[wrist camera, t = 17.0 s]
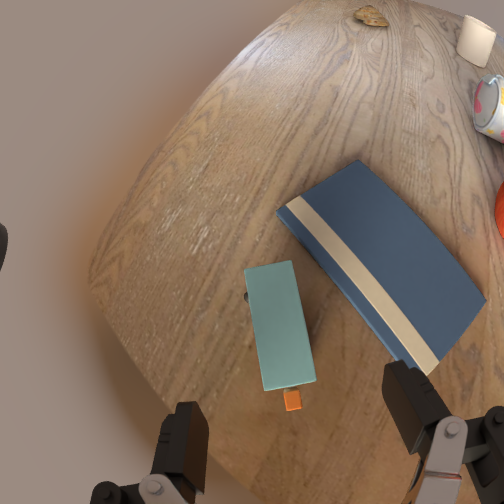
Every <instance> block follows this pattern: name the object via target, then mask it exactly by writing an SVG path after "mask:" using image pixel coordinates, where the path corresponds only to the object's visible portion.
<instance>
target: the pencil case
mask: <svg viewBox="0 0 504 504" xmlns="http://www.w3.org/2000/svg"><path fill="white" fill-rule="evenodd" d="M472 113H473V124H474V128H475V129H476V130H477V131H479V132H481V133H482V134H484V135H487V136H489V137H491V138H493V139H495V140H497V141H499V142H501V143H502V144H504V78H503V77H502V76H501V75H499V74H486V75H485V76H483V77H482V78H481V79H480V80H479V82H478V83H477V86H476V88H475V92H474V97H473V106H472Z"/></svg>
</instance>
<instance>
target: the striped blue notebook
mask: <svg viewBox="0 0 504 504" xmlns="http://www.w3.org/2000/svg"><path fill="white" fill-rule="evenodd" d="M276 215H277V216H278V217H279V218H280V219H281V221H282V222H283V223H284V224H285V225H286V226H287V227H288V229H289V230H290V231H291V232H292V233H293V234H294V236H295V237H296V238H297V239H298V240H299V241H300V243H301V244H302V245H303V246H304V247H305V248H306V250H307V251H308V252H309V253H310V254H311V255H312V257H313V258H314V259H315V260H316V261H317V263H318V264H319V265H320V266H321V267H322V268H323V270H324V271H325V272H326V273H327V274H328V276H329V277H330V278H331V279H332V281H333V282H334V283H335V284H336V285H337V287H338V288H339V289H340V290H341V292H342V293H343V294H344V295H345V296H346V298H347V299H348V300H349V301H350V303H351V304H352V305H353V306H354V308H355V309H356V310H357V311H358V313H359V314H360V315H361V316H362V318H363V319H364V320H365V321H366V323H367V324H368V325H369V327H370V328H371V329H372V330H373V332H374V333H375V334H376V335H377V337H378V338H379V339H380V341H381V342H382V343H383V345H384V346H385V347H386V348H387V350H388V351H389V352H390V354H391V355H392V356H393V358H394V359H395V360H396V361H398V360H400V359H402V360H404V362H405V363H406V365H407V366H408V368H409V369H410V368H412V367H416V368H418V369H419V370H421V371H422V372H424V373H425V375H426V376H427V375H428V374H429V373H430V372H431V371H432V370H433V369H434V368H435V366H436V365H437V364H438V363H439V362H440V361H441V360H442V358H443V357H444V356H445V355H446V354H447V353H448V351H449V350H450V349H451V348H452V347H453V345H454V344H455V343H456V342H457V341H458V339H459V338H460V337H461V336H462V334H463V333H464V332H465V330H466V329H467V328H468V326H469V325H470V324H471V322H472V321H473V320H474V318H475V317H476V316H477V314H478V313H479V311H480V310H481V309H482V307H483V306H484V304H485V303H486V299H485V298H484V296H483V295H482V293H481V292H480V291H479V289H478V288H477V286H476V285H475V284H474V282H473V281H472V280H471V278H470V277H469V276H468V274H467V273H466V272H465V270H464V269H463V268H462V267H461V265H460V264H459V263H458V262H457V260H456V259H455V258H454V257H453V255H452V254H451V253H450V252H449V251H448V249H447V248H446V247H445V246H444V245H443V244H442V242H441V241H440V240H439V239H438V238H437V237H436V235H435V234H434V233H433V232H432V231H431V230H430V229H429V228H428V227H427V225H426V224H425V223H424V222H423V221H422V220H421V219H420V218H419V217H418V216H417V215H416V214H415V213H414V212H413V211H412V209H411V208H410V207H409V206H408V205H407V204H406V203H405V202H404V201H403V200H402V199H401V198H400V197H399V196H398V195H397V194H396V193H395V192H394V191H393V190H391V189H390V188H389V187H388V186H387V185H386V184H385V183H384V182H383V181H382V180H381V179H380V178H379V177H378V176H377V175H375V174H374V173H373V172H372V171H371V170H370V169H369V168H368V167H367V166H365V165H364V164H363V163H362V162H361V161H360V160H359V159H358V160H356V161H355V162H353V163H351V164H350V165H348V166H346V167H345V168H343V169H342V170H340V171H338V172H337V173H335V174H334V175H332V176H330V177H329V178H327V179H325V180H324V181H322V182H321V183H319V184H317V185H316V186H314V187H313V188H311V189H310V190H308V191H306V192H305V193H303V194H302V195H300V196H298V197H296V198H295V199H293V200H292V201H290V202H289V203H287V204H286V205H284V206H283V207H281V208H280V209H278V210H276Z"/></svg>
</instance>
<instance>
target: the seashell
mask: <svg viewBox="0 0 504 504" xmlns="http://www.w3.org/2000/svg"><path fill="white" fill-rule="evenodd" d="M353 16H354V17H355V18H357V19H361V20H364V21H363V23H365V24H366V25H370V26H389V23H388V21H387V20H386V19H385V18H384V17H383V15H382V14H381V13H379V11H378V10H376V9H375V8H374V7H372V6H371V5H368V6H365V7H362V8H360V9H358V10H357V11H355V12H354V14H353Z"/></svg>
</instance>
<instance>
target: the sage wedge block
mask: <svg viewBox="0 0 504 504" xmlns="http://www.w3.org/2000/svg"><path fill="white" fill-rule="evenodd" d="M244 273H245V279H246V286H247V292H246V293H245V295H244V299H245V301H246V302H247V303H249V304H250V310H251V316H252V322H253V328H254V334H255V340H256V346H257V352H258V358H259V364H260V370H261V375H262V381H263V387H264V391H267V390H273V389H279V388H284V387H289V386H294V385H299V384H304V383H309V382H313V381H317V378H316V373H315V368H314V362H313V357H312V352H311V347H310V342H309V338H308V333H307V328H306V323H305V318H304V314H303V309H302V305H301V300H300V295H299V291H298V286H297V282H296V278H295V273H294V269H293V265H292V261H291V260H288V261H283V262H278V263H273V264H268V265H263V266H258V267H252V268H247V269H244ZM284 399H285V405H286V410H287V411H290V410H295V409H301V408H302V401H301V395H300V391H299V389H298V388H297V387H291V388H286V389H284Z"/></svg>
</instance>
